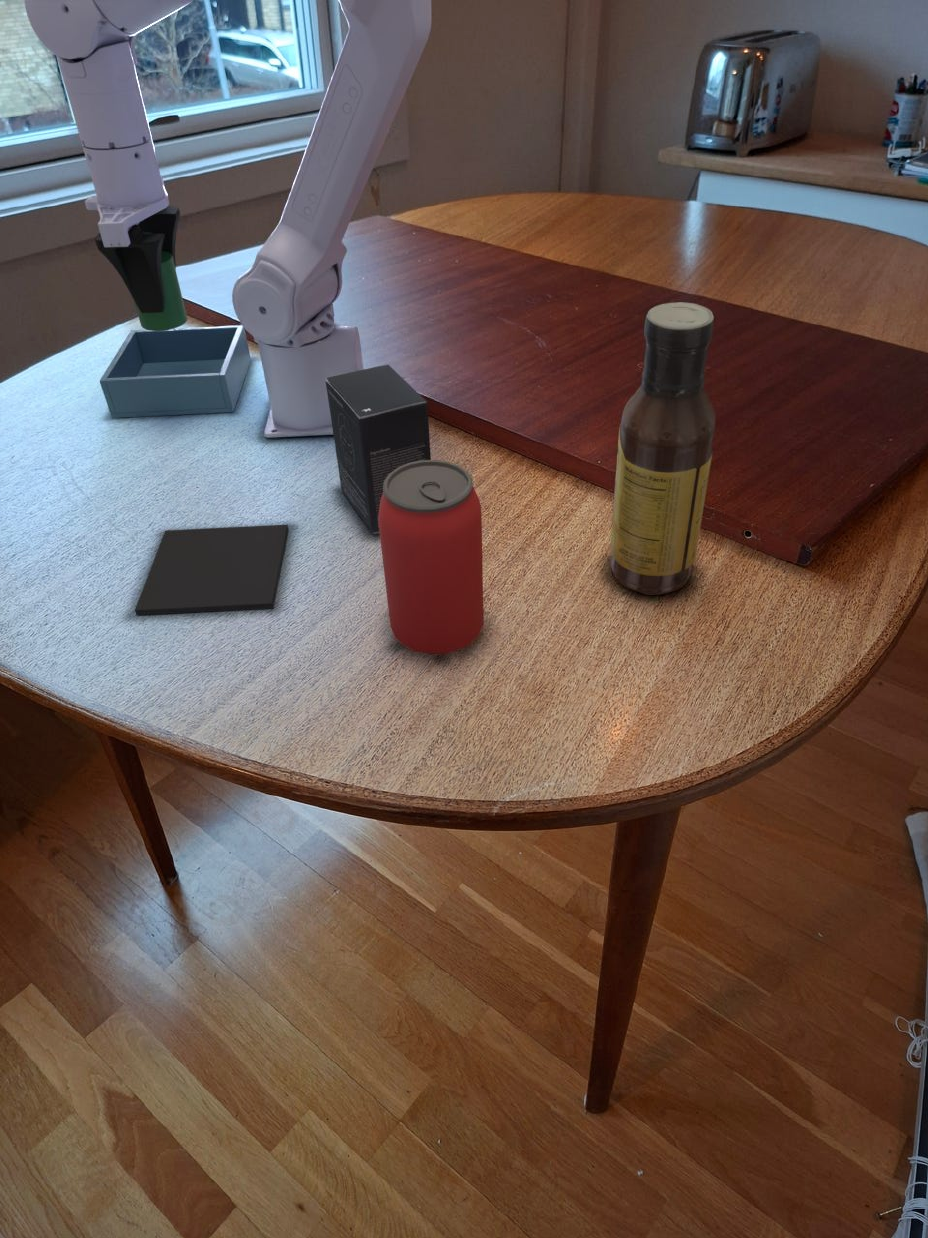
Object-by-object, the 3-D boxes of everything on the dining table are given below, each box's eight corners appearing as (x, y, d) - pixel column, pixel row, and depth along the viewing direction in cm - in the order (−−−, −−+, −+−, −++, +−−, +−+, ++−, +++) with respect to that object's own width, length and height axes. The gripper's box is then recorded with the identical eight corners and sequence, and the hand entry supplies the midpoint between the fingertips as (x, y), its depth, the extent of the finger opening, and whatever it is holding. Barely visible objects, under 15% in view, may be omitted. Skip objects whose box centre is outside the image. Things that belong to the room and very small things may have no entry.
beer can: (415, 672, 57) (401, 524, 49) (376, 615, 61) (357, 472, 53) (501, 639, 59) (500, 493, 51) (457, 587, 63) (451, 444, 55)
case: (251, 359, 94) (243, 324, 91) (233, 412, 85) (224, 374, 82) (141, 365, 94) (130, 330, 91) (111, 418, 85) (99, 380, 82)
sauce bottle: (653, 538, 67) (690, 284, 54) (709, 579, 63) (763, 315, 50) (588, 565, 65) (610, 306, 51) (642, 610, 61) (680, 342, 47)
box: (436, 517, 70) (428, 400, 63) (372, 537, 68) (357, 418, 61) (399, 473, 75) (389, 360, 68) (339, 490, 74) (322, 376, 67)
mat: (288, 529, 69) (287, 524, 69) (273, 608, 62) (272, 603, 62) (166, 535, 69) (164, 530, 69) (136, 615, 62) (134, 610, 61)
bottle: (191, 312, 84) (171, 226, 79) (182, 330, 81) (160, 242, 75) (147, 313, 84) (123, 228, 78) (135, 331, 80) (110, 244, 75)
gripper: (94, 123, 77) (136, 275, 86) (41, 165, 66) (95, 333, 75) (172, 121, 77) (205, 272, 86) (131, 162, 66) (174, 330, 75)
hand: (159, 300), depth 81 cm, fingers closed on bottle, 4 cm apart
